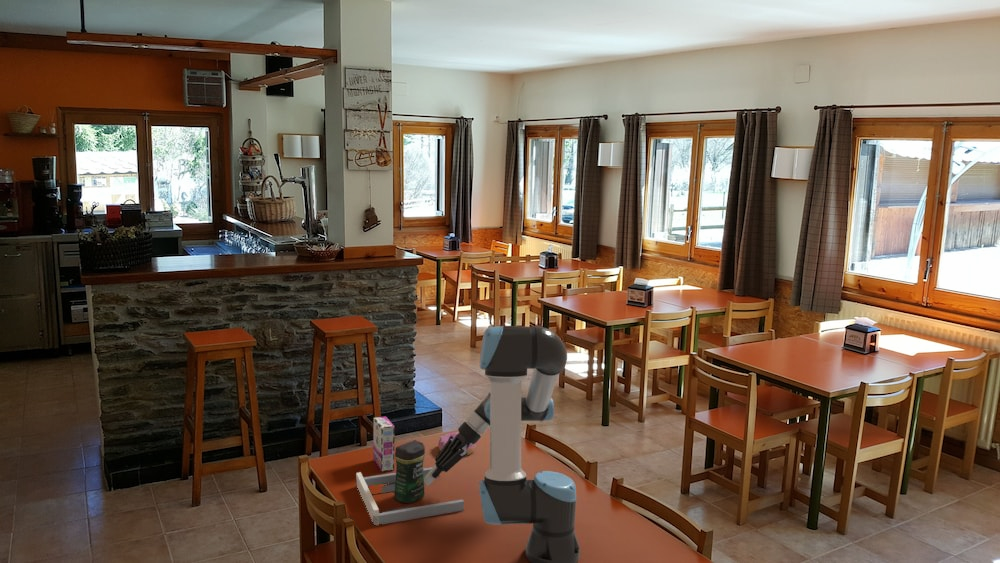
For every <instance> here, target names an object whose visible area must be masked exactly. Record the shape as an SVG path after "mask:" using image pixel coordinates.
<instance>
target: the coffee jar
mask: <svg viewBox="0 0 1000 563" xmlns="http://www.w3.org/2000/svg"><path fill="white" fill-rule="evenodd" d="M425 449H426V448H425V444H424V443H423V442H421V441H419V440H415V439H413V440H411V441H407V442H405V443H403V444H400V445H398V446H396V447H395V449H394V460H395V463H396V464H395V465H396V468H395V469H396V470H395V471H396V472H395V473H396V481H395V492H393V493H394V494H393V495H394V496H393V497H394V499H395V500H396V501H398V503H402V504H411V503H414V502H417V501H418V500H421V499H422V498H423V497H425V483H424V477H423V469H424V460H425V455H426V452H425Z"/></svg>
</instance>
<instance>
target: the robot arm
mask: <svg viewBox="0 0 1000 563" xmlns="http://www.w3.org/2000/svg"><path fill="white" fill-rule="evenodd" d="M479 354H480V355H479V368H480V369H482V370H484V376H485V377H486V378H487V379H488V380H489V382H490V383H489V385H490V389H489V390H490V392H488V393H487V396H486V397H485V398H484V399H483V400H482V401H481V402H480V403H479V405H478V406H477V407H476V409H474V410H473V411H472V412H471V413H470V415H469V416H467V417H466V421H463V422H462V424H461V425H460V426H459V427H458V428H457V431H458V433H459V432H460V433H459V434H457V435H456V436H455V437H453V436H450V437H449V439H448V441H447V443H446V444H445V446H444V447H443V449H442V450H441V451H440V450H439V453H438V454H437V456H436V457H435V458H434V461H435V463H434V465H433V466H432V467H433V468H432V469H431V470H430V471H429V472H428V473H427V475H426V476H425V477H424V485H427V486H428V487H430V485H432V484H433V483H434V481H435V480H436V479H437V478H438V477H439V476H438V475H439V474H441V473H443V472H444V473H448V472H449V471H450V470H452V468H453V467H455V465H456V464H457V463H459V462H460V461H461V460H462V459H463V458H465V457H467V456H468V455H467V454H468V453H467V452H466V449H467V448H468V447H469V445H470V444H471V443H472V444H475V443H476V444H477V442H478V441H479V440H480V438H481V437H482V436H483V435H484V434H485V433H486V432H487V431H488V430H489V429H490V430H489V436H490V437H489V469H488V470H487V471H485V473H484V477H483V478H484V480H483V479H482V480H480V481H479V482H478V486H479V487H478V489H479V496H480V504H481V505H480V506H481V510H482V515H483V520H484V523H486V524H488V525H499V526H503V525H523V524H525V525H529V524H532V529H531V531H530V534H529V537H528V540H527V541H526V544H525V557H526V559H527V560H528V561H529V563H578V562H579V561H580V553H581V552H580V551H581V550H580V545H579V542H578V538H577V535H576V532H575V523H576V507H577V506H576V504H577V497H578V496H577V486H576V483H575V482H574V480H573V479H572V478H571V477H569V476H567V474H566V475H565V474H564V473H561V472H557V471H552V470H541V471H539V472H537V473H535V475H534V477H533V479H527V473H526V472H525V471H524V469H522V422H543V421H551V420H553V418H554V414H555V403H554V399H553V398H552V396H553V392H554V389H555V387H556V384H557V381H558V379H559V378H558V377H559V375H560V374H561V373H562V372H563V371H564V370H565V369H566V368H565V367H566V365H567V361H568V353H567V349H566V346H565V344H564V342H563V340H562V339H561V338H560V337H559V336H558V334H556V333H555V332H554V331H552V330H551V329H549V328H546V327H543V326H537V325H536V326H517V325H516V326H515V325H514V326H513V325H511V326H509V325H508V326H505V325H499V326H490V327H487V328H486V329H485V330H484V331H483V336H482V341H481V346H480V353H479ZM529 369H531V370H532V374H531V377H530V381H529V385H528V388H527V392H526V395H525V396H523V397H522V382H523V380H525V379H526V378H527V376H528V370H529ZM481 435H482V436H481ZM437 476H438V477H437Z"/></svg>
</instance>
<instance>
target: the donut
mask: <svg viewBox="0 0 1000 563" xmlns="http://www.w3.org/2000/svg"><path fill="white" fill-rule="evenodd" d="M459 433H460V432H459V431H458V432H457V431H456V432H448V433H445V434H443V435H441V436H440V437H439V440H438V442H437V447H438V449H439V452H440V451H441V450H442V449H443V447H444V446H445V444H446V443H447V441H448V439H449V437H450V436H453V437H455V436H456V435H457V434H459ZM476 446H477V442H476V443H475V444H472V443H471V444H470V445H469V447H468V448H467V449H466V452H467V453H468V454H467V456H470V455H471V454H473V453H474V452H475V450H476Z"/></svg>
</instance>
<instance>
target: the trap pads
mask: <svg viewBox="0 0 1000 563" xmlns="http://www.w3.org/2000/svg"><path fill="white" fill-rule="evenodd" d="M386 486H387V487H386ZM381 488H383V489H382V490H383V491H382V490H381V492H382V494H387V492H389V493H394V491H395V483H389V484H387V485H384V486H383V487H381ZM381 492H380V493H381ZM407 508H413V507H412V506H407V507H400V508H394V509H390V510H389V509H388V510H387V509H386V510H383V511H380V512H382V513H383V512H389V511H395V510H401V509H407Z"/></svg>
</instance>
